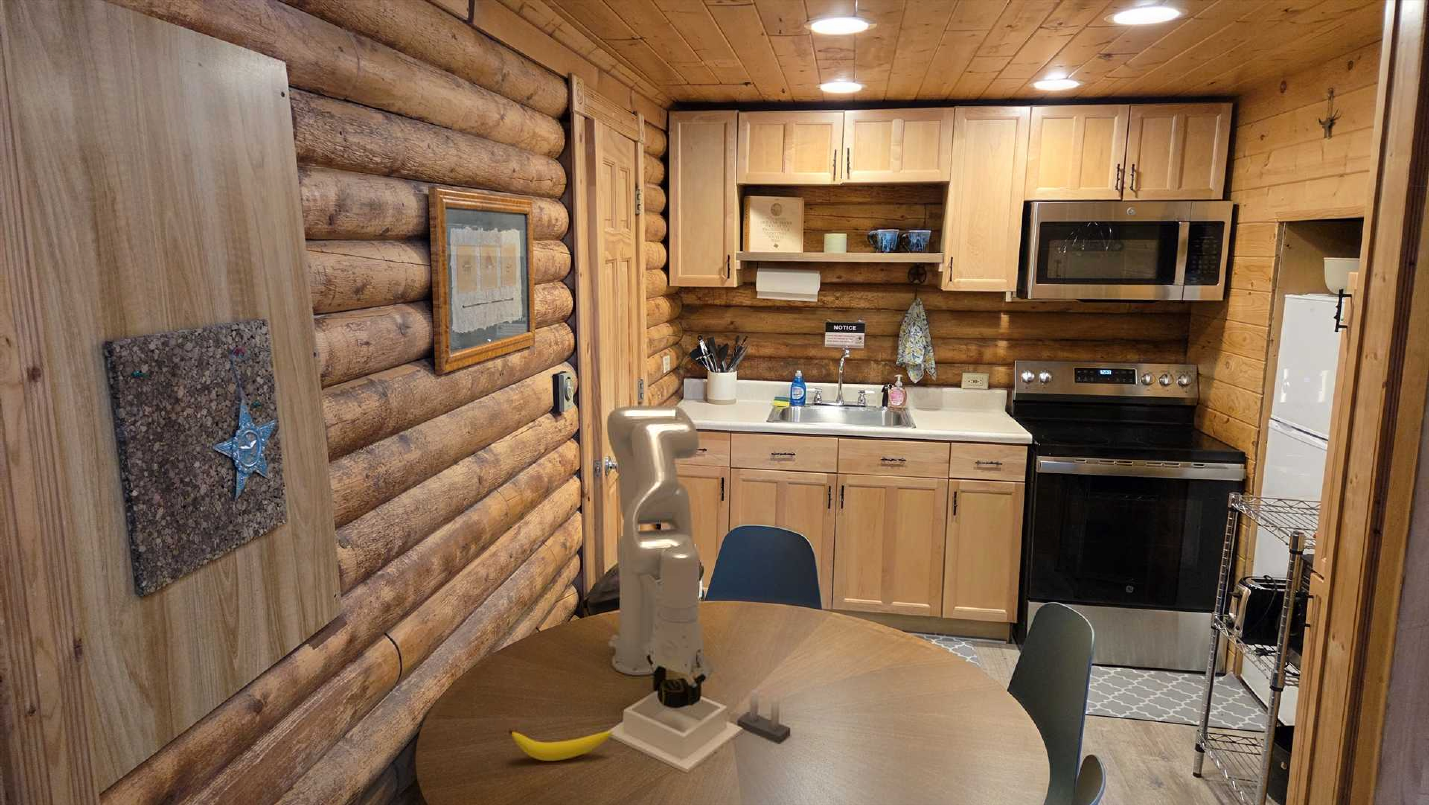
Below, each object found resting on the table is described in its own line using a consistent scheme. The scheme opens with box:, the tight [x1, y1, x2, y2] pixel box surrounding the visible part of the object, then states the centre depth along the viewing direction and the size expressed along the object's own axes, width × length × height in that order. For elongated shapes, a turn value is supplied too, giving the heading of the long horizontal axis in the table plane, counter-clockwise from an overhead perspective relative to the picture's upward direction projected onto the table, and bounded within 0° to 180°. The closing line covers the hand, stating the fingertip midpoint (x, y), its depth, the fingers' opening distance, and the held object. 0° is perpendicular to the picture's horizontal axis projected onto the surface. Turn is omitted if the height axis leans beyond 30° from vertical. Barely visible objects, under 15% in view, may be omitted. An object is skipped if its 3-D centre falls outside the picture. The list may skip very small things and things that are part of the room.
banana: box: [508, 729, 613, 762], centre depth 156 cm, size 3×19×6 cm, turn 100°
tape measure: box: [658, 677, 690, 708], centre depth 165 cm, size 7×7×4 cm
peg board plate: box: [736, 689, 791, 744], centre depth 168 cm, size 10×4×8 cm, turn 54°
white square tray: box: [607, 691, 744, 774], centre depth 166 cm, size 20×18×5 cm
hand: (676, 695), depth 165 cm, fingers closed on tape measure, 8 cm apart
